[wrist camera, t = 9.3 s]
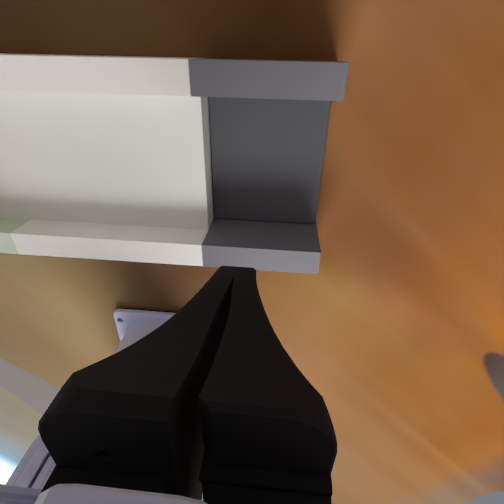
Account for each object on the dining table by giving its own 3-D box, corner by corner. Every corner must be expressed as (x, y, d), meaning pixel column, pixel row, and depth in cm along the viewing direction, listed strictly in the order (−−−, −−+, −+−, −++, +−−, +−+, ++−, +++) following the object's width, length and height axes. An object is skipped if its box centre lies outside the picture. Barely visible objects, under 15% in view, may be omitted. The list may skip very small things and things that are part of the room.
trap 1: (314, 220, 22) (314, 223, 22) (215, 215, 23) (214, 217, 22) (330, 94, 18) (331, 94, 18) (210, 90, 19) (208, 91, 18)
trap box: (313, 241, 23) (317, 273, 20) (-129, 215, 25) (-193, 239, 22) (337, 60, 17) (349, 62, 14) (-236, 48, 20) (-345, 47, 16)
